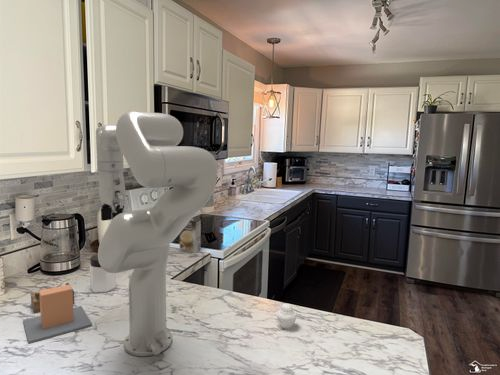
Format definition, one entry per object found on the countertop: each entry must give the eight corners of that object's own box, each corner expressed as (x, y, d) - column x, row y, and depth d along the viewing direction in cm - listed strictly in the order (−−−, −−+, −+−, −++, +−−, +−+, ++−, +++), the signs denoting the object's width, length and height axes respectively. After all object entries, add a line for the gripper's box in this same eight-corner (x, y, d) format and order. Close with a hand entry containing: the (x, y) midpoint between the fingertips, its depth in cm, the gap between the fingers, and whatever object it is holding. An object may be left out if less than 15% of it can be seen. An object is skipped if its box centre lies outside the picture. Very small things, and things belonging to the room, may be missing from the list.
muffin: (279, 332, 103) (279, 309, 102) (273, 321, 109) (274, 300, 108) (299, 330, 104) (300, 308, 103) (292, 320, 110) (293, 298, 109)
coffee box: (178, 251, 176) (178, 219, 174) (184, 247, 182) (184, 217, 180) (195, 253, 173) (195, 221, 171) (201, 249, 179) (201, 218, 177)
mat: (92, 325, 104) (92, 324, 104) (28, 343, 94) (28, 341, 94) (81, 307, 115) (81, 305, 115) (23, 322, 105) (23, 320, 105)
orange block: (73, 321, 105) (72, 289, 104) (43, 329, 100) (41, 295, 99) (71, 315, 108) (69, 284, 107) (41, 323, 103) (39, 290, 102)
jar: (118, 289, 129) (117, 257, 128) (95, 295, 124) (94, 262, 123) (110, 281, 136) (109, 251, 135) (88, 286, 131) (87, 255, 130)
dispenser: (75, 304, 117) (74, 290, 116) (34, 313, 110) (33, 299, 109) (69, 295, 124) (69, 282, 123) (31, 303, 117) (30, 290, 116)
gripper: (134, 168, 103) (135, 225, 105) (112, 165, 116) (114, 216, 118) (108, 169, 98) (110, 229, 100) (88, 166, 111) (90, 219, 113)
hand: (112, 222), depth 109 cm, fingers open, 9 cm apart
